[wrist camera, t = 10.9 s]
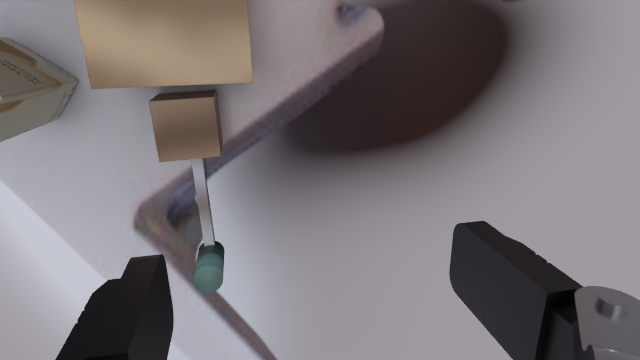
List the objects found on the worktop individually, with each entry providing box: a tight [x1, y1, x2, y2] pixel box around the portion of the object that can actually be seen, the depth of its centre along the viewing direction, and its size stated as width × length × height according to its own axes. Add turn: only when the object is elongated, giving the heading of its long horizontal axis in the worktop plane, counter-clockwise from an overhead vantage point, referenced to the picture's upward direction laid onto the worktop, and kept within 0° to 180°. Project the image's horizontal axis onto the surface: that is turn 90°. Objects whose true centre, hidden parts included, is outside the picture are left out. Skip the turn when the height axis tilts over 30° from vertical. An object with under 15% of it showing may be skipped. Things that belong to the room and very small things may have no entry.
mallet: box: [149, 90, 224, 292], centre depth 38 cm, size 18×5×6 cm, turn 3°
